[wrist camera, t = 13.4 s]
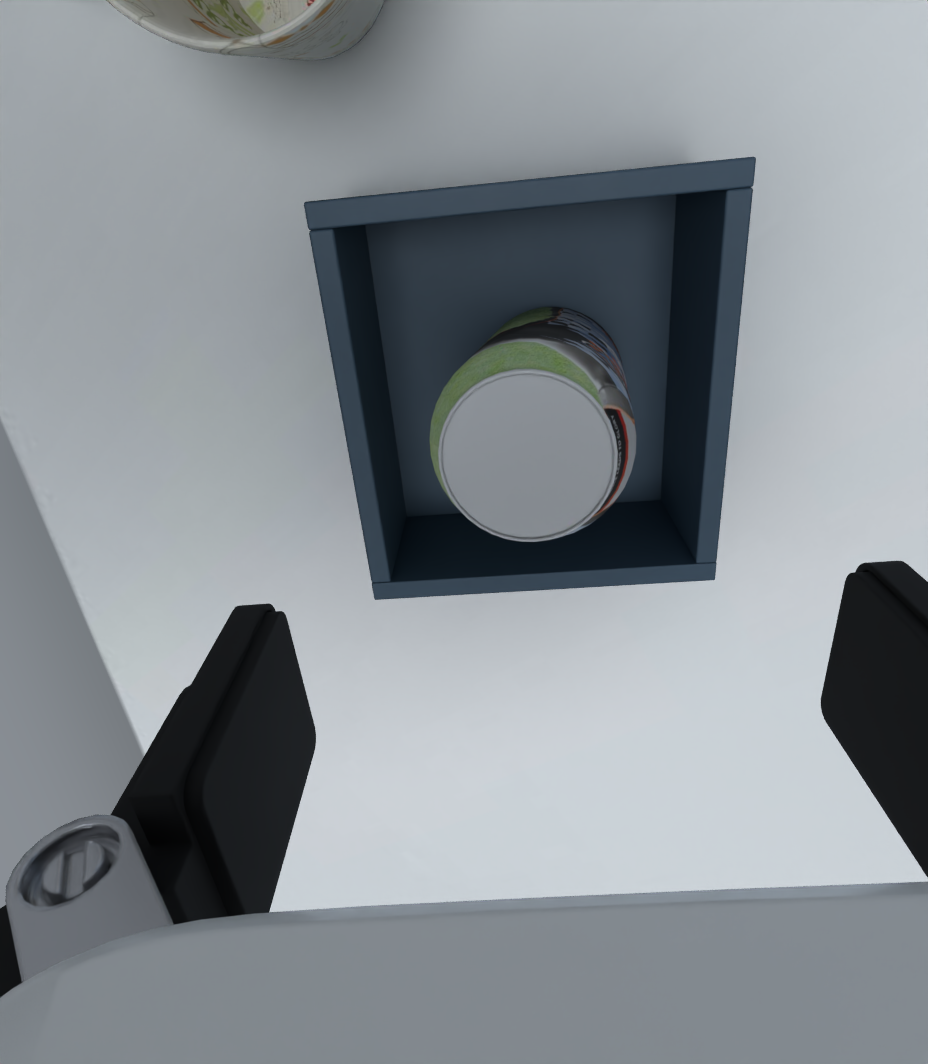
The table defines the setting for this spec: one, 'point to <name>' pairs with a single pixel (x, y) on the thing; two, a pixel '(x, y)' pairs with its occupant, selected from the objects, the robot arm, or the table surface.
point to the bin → (495, 298)
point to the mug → (257, 25)
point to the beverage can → (536, 428)
